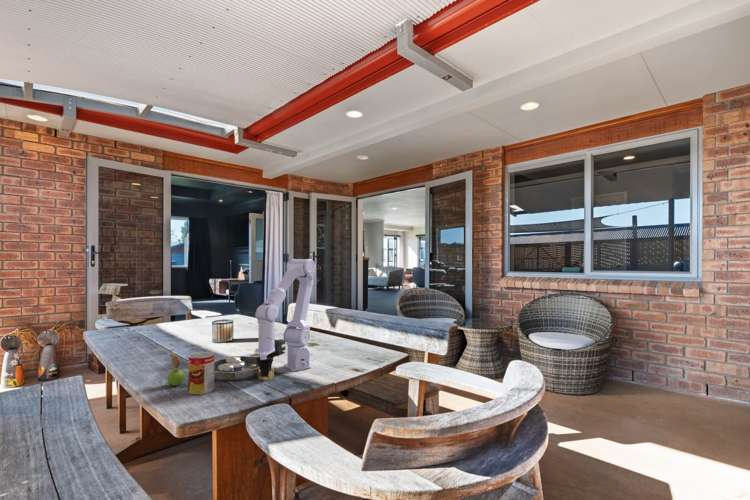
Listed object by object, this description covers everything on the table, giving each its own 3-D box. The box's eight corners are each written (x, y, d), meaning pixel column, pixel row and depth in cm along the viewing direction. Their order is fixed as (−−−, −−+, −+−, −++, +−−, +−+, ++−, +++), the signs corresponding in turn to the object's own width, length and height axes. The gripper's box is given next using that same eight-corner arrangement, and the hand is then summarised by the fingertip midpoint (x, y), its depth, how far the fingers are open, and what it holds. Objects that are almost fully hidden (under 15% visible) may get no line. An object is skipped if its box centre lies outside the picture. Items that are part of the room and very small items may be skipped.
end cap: (258, 354, 166) (258, 339, 166) (268, 351, 173) (268, 336, 173) (277, 356, 163) (277, 341, 163) (286, 353, 169) (286, 338, 169)
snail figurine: (179, 380, 131) (179, 347, 131) (187, 384, 127) (187, 350, 127) (163, 385, 126) (163, 350, 127) (170, 389, 122) (171, 353, 123)
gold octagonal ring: (276, 377, 135) (276, 369, 135) (264, 381, 130) (264, 372, 130) (267, 374, 138) (267, 366, 138) (255, 378, 134) (255, 370, 134)
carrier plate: (275, 373, 140) (276, 361, 140) (215, 385, 126) (215, 372, 126) (255, 360, 157) (255, 350, 157) (200, 369, 143) (200, 358, 144)
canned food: (196, 385, 126) (196, 351, 126) (218, 386, 125) (218, 351, 125) (182, 394, 118) (183, 357, 118) (206, 395, 117) (206, 357, 118)
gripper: (259, 333, 141) (258, 368, 141) (251, 342, 127) (251, 381, 126) (277, 332, 142) (277, 367, 142) (272, 341, 128) (271, 380, 127)
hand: (266, 374), depth 134 cm, fingers closed on gold octagonal ring, 5 cm apart
